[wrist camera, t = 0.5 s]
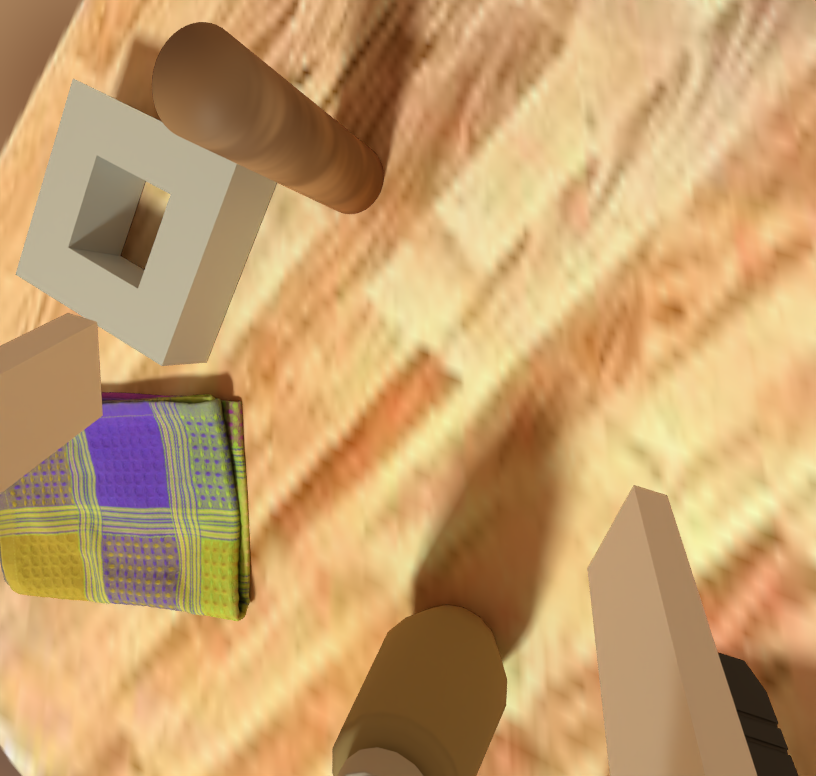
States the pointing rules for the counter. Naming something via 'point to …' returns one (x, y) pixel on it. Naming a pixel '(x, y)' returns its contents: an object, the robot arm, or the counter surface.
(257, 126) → the walnut dowel
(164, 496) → the dish towel
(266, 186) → the socket block
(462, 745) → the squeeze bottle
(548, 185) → the counter surface
